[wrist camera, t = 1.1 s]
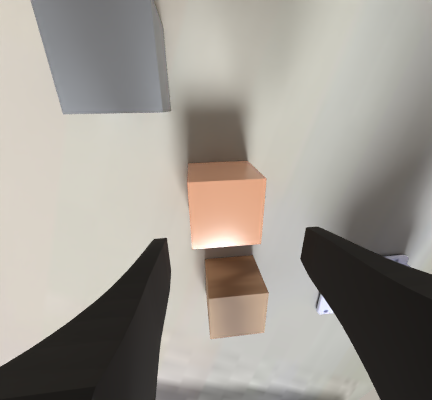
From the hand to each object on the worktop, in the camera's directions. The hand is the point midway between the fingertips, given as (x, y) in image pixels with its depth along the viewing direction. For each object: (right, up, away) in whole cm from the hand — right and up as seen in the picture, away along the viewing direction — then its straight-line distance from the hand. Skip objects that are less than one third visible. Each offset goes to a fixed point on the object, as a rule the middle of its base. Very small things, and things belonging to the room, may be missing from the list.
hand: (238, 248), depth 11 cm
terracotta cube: (-1, +3, +8) cm, 9 cm away
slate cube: (-7, +11, +4) cm, 14 cm away
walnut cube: (0, -6, +12) cm, 13 cm away
